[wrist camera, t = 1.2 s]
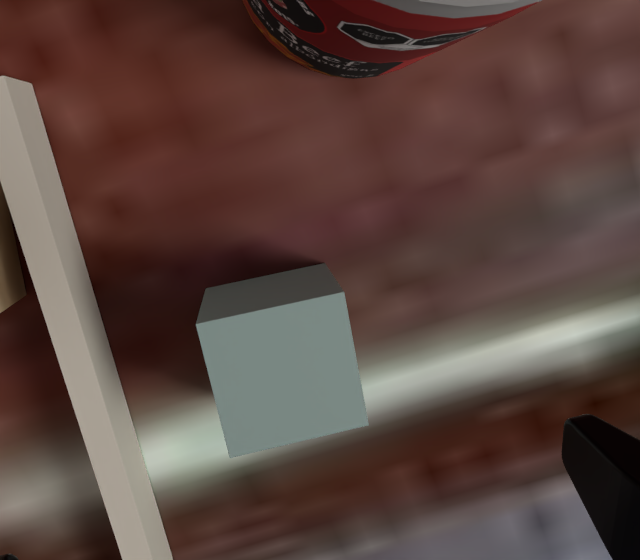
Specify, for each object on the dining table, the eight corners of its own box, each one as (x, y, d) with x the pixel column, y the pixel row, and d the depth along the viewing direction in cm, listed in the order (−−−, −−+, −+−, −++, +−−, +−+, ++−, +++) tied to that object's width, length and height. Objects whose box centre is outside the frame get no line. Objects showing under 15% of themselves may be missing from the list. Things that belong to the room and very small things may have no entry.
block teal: (345, 372, 22) (368, 424, 18) (232, 397, 22) (229, 458, 18) (324, 262, 21) (344, 291, 17) (205, 287, 21) (195, 324, 17)
